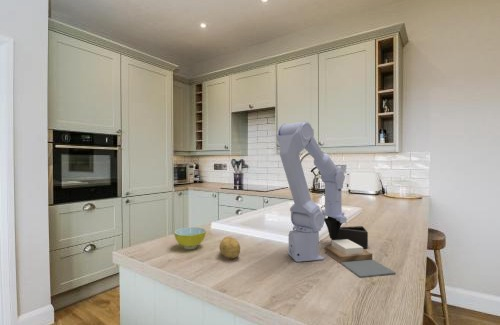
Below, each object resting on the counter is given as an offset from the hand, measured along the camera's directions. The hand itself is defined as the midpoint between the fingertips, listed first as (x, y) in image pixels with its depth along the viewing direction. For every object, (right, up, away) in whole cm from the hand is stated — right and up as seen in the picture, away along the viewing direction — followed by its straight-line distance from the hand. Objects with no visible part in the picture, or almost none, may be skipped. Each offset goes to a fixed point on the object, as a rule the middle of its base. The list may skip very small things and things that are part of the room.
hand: (333, 238), depth 98 cm
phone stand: (+12, 0, +2) cm, 13 cm away
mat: (+4, -3, -19) cm, 20 cm away
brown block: (+2, -3, -9) cm, 10 cm away
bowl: (-52, -4, +1) cm, 52 cm away
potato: (-37, -4, -8) cm, 38 cm away
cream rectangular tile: (+2, -1, -9) cm, 9 cm away
